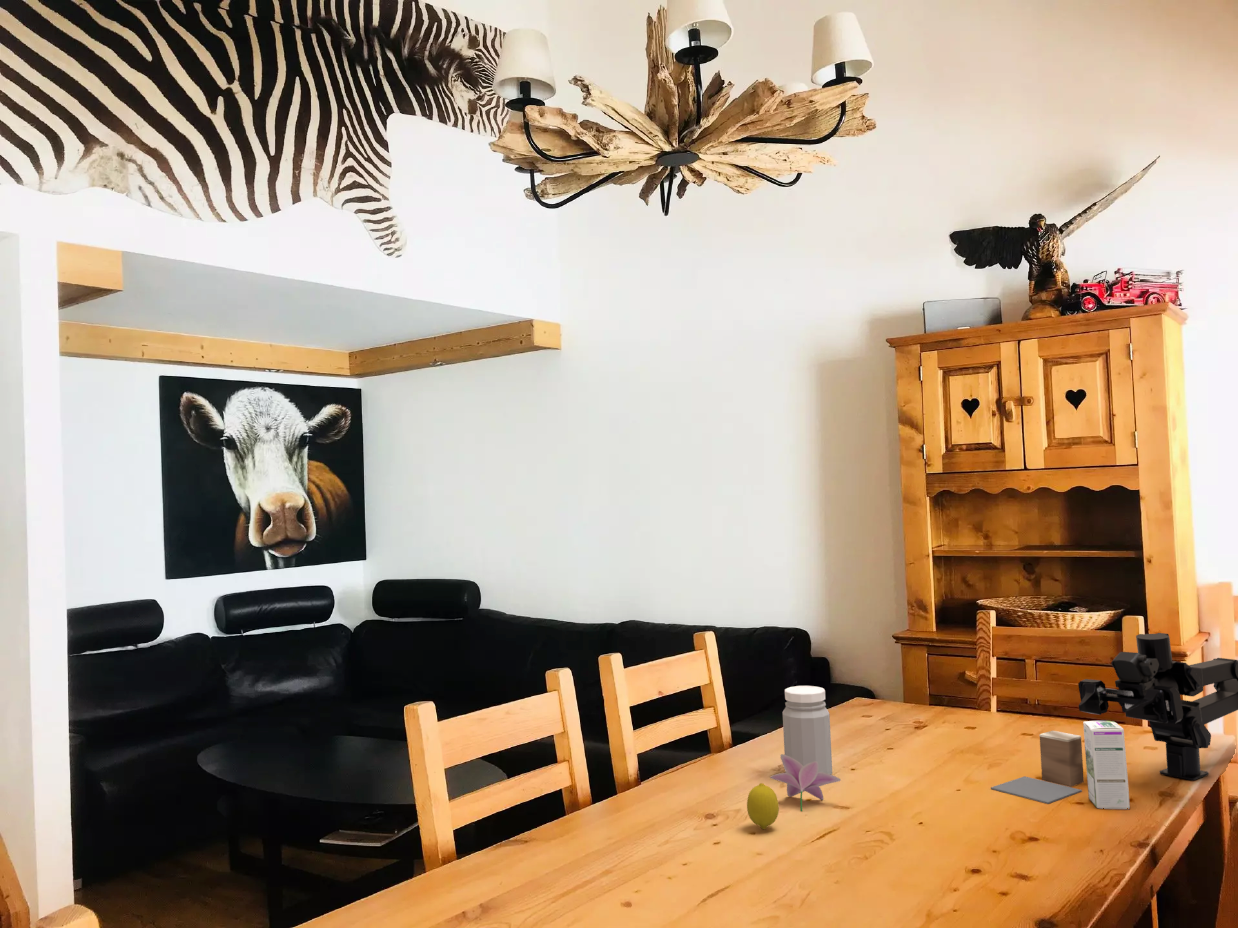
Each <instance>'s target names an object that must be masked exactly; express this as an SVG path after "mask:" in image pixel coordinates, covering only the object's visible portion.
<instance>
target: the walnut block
mask: <svg viewBox="0 0 1238 928" xmlns="http://www.w3.org/2000/svg"><path fill="white" fill-rule="evenodd" d="M1039 749H1040V750H1039V751H1040V764H1041V765H1040V766H1041V767H1040V768H1041V780H1042V781H1046V782H1051V783H1055V784H1059V785H1063V786H1067V787H1071V788H1073V787H1074V786H1078V785H1080V784H1082V783H1085V781H1084V779H1085V778H1084V765H1083V764H1084V762H1083V761H1084V760H1083V745H1082V736H1081V735H1078V734H1072V733H1067V732H1063V731H1058V730H1050V731H1049V730H1048V731H1047V732H1043V733H1039Z"/></svg>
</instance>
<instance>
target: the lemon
mask: <svg viewBox="0 0 1238 928" xmlns="http://www.w3.org/2000/svg"><path fill="white" fill-rule="evenodd" d="M779 809H780V806H779V800H778V797H777V793H776V792H775V790H774V789H772V787H770V786H769V785H766V784H764V783H763V782H760V783H759V784H757V785H756V786H754V787H752V789H751V790H750V791H749V793H748V795H747V801H746V810H747V814H748V817H749V818H750V820H751V822H752V823H754V824H755V825H756V826H759V827H760V829H761V830H766V829H767V828H768V827H770V826H771V825H772V824H774V822H776V820H777V818H778V815H779V811H780V810H779Z"/></svg>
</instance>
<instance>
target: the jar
mask: <svg viewBox="0 0 1238 928" xmlns="http://www.w3.org/2000/svg"><path fill="white" fill-rule="evenodd" d="M784 699H785V700H786V702H784V704H785V707H784V709H783V711H782V726H783V727H782V729H783V731H782V733H783V747H784V749H783V750H784V753H783V754H784V755H787V756H789V757H791V758H793V759H795V760H797V761H798V762H800V763H801V764H802V765H803V766H805V765H806V764H808V763H811V762H814V761H817V762H818V772H824V773H828V774H831V775H833V760H832V759H833V758H832V757H833V756H832V737H831V721H830V720H831V719H830V717H831V715H830V712H829V710H828V709H827V707H826V706H827V704H826V701H825V700H826V690H825V688H823V687H820V686H814V685H796V686H790V687H787V688H785V689H784Z"/></svg>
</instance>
